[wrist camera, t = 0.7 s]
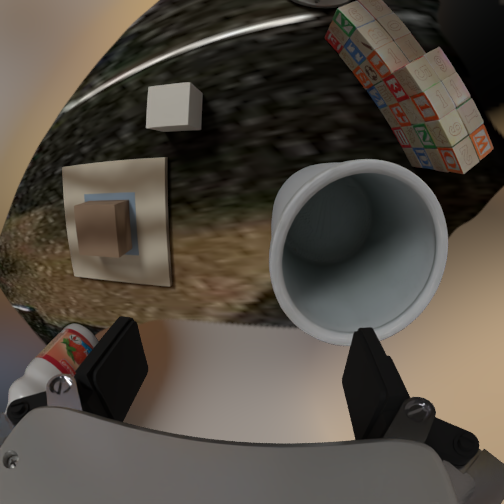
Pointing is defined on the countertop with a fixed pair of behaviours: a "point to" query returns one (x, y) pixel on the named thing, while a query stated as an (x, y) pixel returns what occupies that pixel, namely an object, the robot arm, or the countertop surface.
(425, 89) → the stack of blocks
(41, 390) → the fruit juice
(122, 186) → the board
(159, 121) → the cream block
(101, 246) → the walnut foundation
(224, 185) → the countertop surface
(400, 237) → the utensil holder
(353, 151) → the countertop surface
